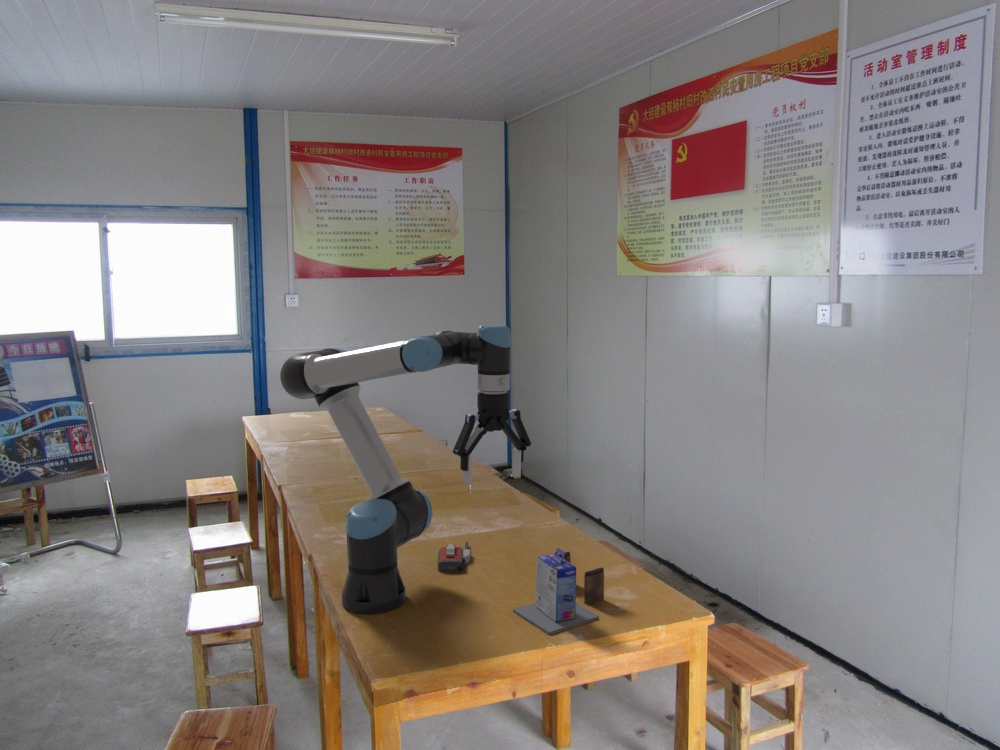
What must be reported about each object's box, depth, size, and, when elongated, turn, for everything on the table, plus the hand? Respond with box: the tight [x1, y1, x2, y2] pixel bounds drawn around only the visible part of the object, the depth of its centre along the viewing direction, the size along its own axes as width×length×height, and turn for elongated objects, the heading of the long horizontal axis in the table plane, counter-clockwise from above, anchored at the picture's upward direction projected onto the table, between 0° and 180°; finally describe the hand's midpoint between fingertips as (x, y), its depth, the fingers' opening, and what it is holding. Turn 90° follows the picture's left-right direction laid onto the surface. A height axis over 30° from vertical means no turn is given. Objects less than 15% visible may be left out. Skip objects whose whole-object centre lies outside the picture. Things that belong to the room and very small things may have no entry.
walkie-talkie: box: [437, 541, 472, 573], centre depth 210 cm, size 9×4×20 cm
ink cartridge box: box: [535, 547, 577, 622], centre depth 174 cm, size 10×6×14 cm, turn 26°
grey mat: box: [512, 601, 600, 636], centre depth 175 cm, size 14×14×1 cm
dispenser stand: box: [557, 551, 605, 606], centre depth 187 cm, size 5×14×8 cm, turn 33°
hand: (492, 479), depth 182 cm, fingers open, 13 cm apart
